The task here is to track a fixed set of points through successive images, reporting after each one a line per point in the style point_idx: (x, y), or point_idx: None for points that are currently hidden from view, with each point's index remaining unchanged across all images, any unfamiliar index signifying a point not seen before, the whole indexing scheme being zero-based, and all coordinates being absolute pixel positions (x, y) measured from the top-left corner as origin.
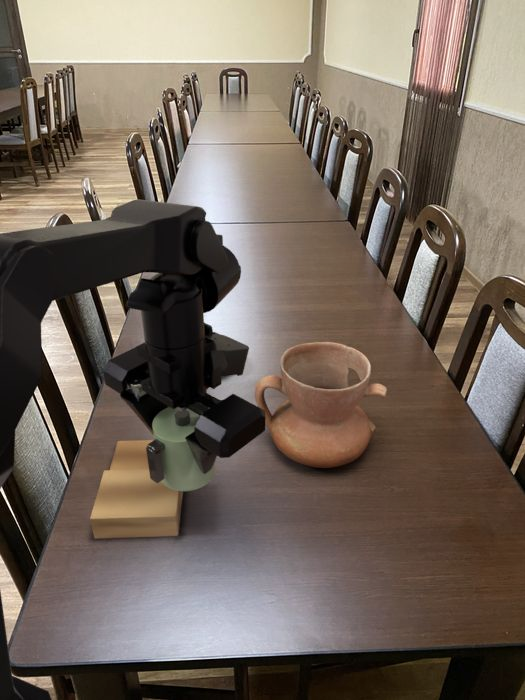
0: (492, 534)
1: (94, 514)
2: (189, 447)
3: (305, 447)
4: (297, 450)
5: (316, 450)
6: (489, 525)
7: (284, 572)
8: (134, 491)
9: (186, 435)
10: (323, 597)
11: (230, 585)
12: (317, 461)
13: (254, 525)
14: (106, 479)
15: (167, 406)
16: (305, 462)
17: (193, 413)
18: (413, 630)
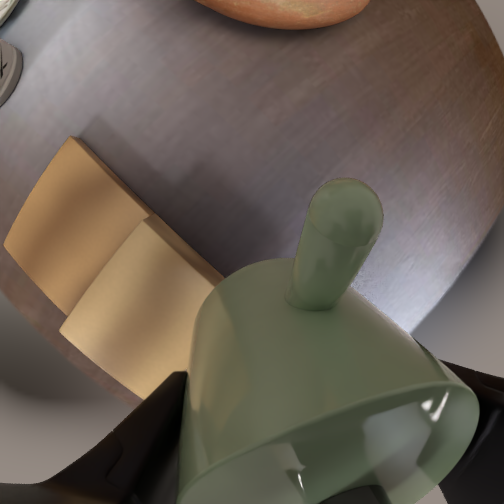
0: (488, 45)
1: (144, 395)
2: (446, 497)
3: (324, 6)
4: (308, 16)
5: (343, 4)
6: (482, 35)
7: (403, 221)
8: (135, 329)
9: (407, 499)
10: (447, 217)
11: (362, 289)
12: (344, 19)
13: (323, 183)
14: (80, 342)
15: (144, 487)
16: (320, 27)
17: (354, 463)
18: (501, 189)
